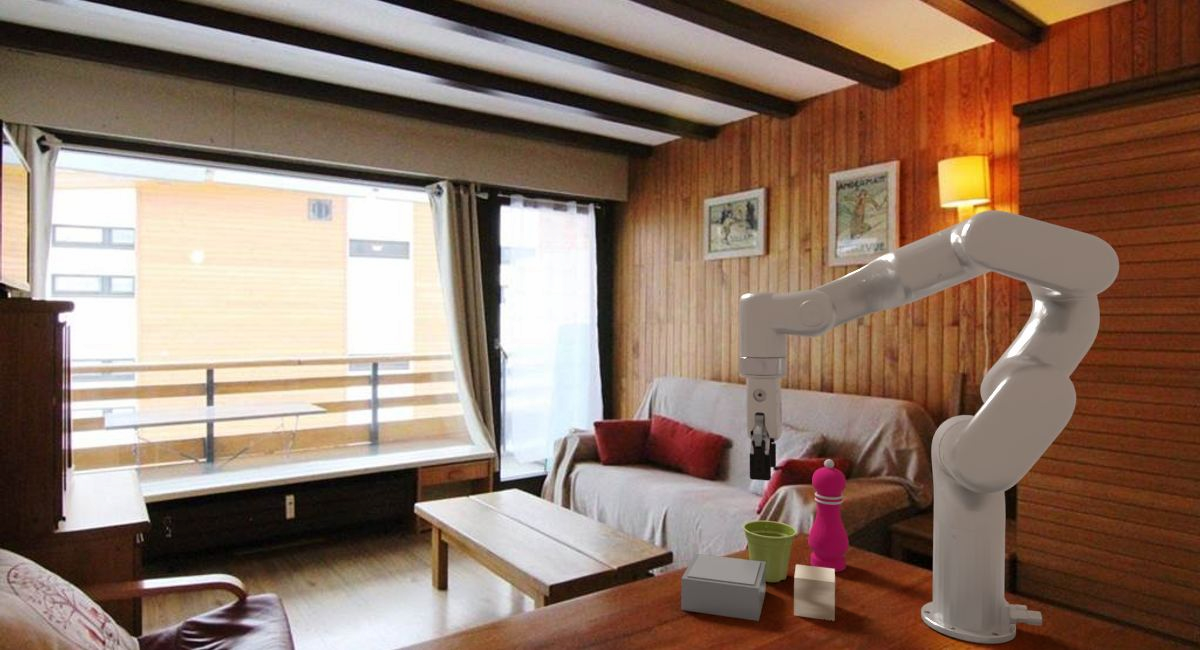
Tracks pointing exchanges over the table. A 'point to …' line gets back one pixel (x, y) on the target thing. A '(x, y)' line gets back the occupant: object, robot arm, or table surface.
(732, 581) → the slate stand
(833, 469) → the pepper mill
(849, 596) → the table surface
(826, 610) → the birch block
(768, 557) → the plant pot
